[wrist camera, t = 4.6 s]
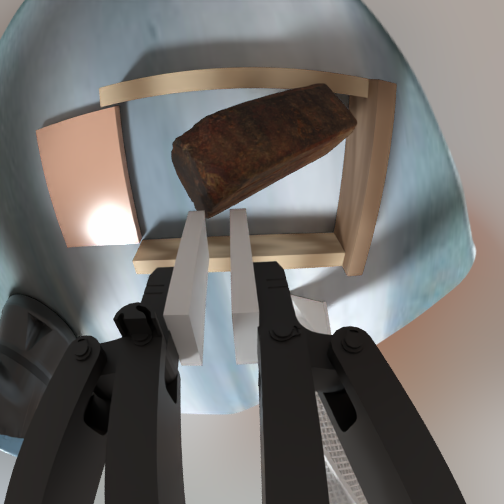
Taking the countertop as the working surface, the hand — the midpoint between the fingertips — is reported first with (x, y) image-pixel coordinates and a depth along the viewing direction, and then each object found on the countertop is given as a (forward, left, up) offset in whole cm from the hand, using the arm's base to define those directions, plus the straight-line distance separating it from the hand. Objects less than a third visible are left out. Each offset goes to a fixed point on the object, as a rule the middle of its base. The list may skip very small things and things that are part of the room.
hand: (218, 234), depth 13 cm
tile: (-13, 0, -11) cm, 17 cm away
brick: (+1, -1, -5) cm, 5 cm away
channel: (+1, 0, -11) cm, 11 cm away
